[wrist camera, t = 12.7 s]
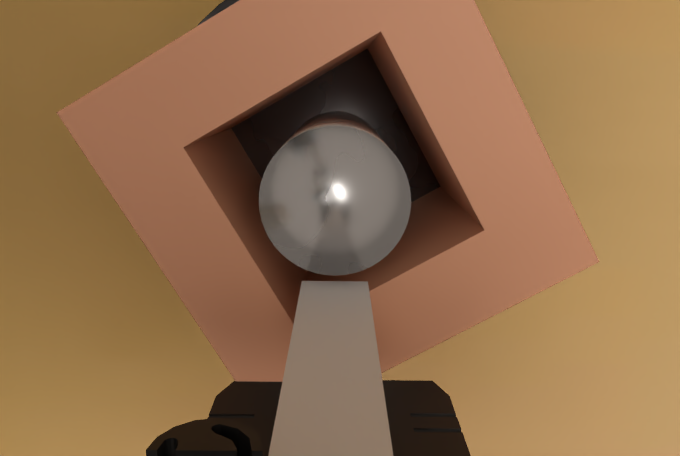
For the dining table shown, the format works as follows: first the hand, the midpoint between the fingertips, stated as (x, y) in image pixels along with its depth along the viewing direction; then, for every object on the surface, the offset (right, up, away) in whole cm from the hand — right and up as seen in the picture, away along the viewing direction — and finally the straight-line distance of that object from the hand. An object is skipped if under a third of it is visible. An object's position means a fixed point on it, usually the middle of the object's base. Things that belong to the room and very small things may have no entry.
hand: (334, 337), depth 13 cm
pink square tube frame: (0, +5, +6) cm, 7 cm away
